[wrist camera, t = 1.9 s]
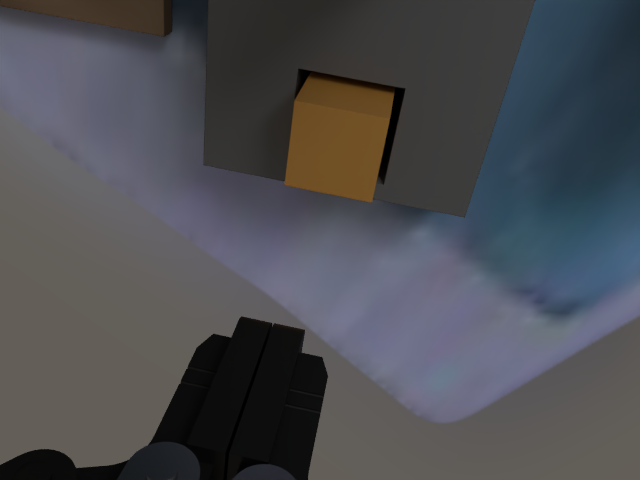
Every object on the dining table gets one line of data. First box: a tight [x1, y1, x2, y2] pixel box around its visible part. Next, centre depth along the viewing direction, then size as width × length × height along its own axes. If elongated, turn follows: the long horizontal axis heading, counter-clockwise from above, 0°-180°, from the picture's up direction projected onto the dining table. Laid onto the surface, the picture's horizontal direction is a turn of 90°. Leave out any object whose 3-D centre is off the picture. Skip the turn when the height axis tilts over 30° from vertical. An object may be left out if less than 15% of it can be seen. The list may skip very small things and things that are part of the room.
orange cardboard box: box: [285, 71, 395, 203], centre depth 24 cm, size 4×4×4 cm
